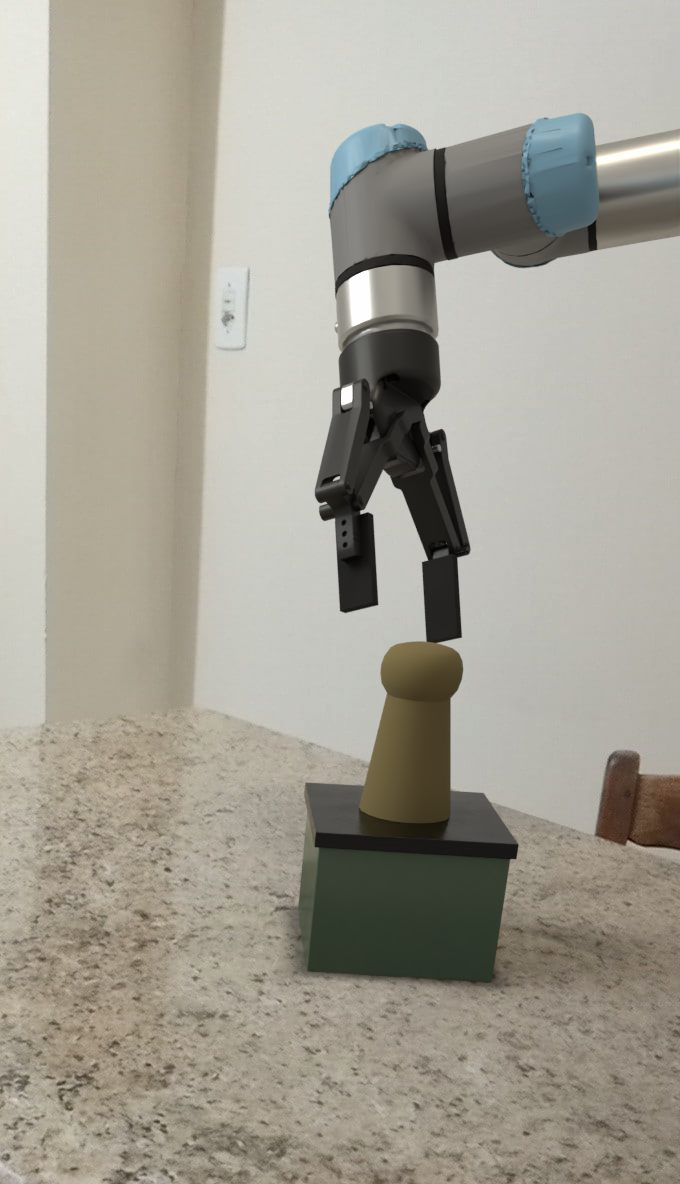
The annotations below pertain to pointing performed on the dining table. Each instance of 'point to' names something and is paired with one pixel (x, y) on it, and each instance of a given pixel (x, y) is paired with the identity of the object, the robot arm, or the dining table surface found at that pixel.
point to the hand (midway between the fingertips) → (403, 625)
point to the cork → (414, 735)
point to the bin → (402, 888)
